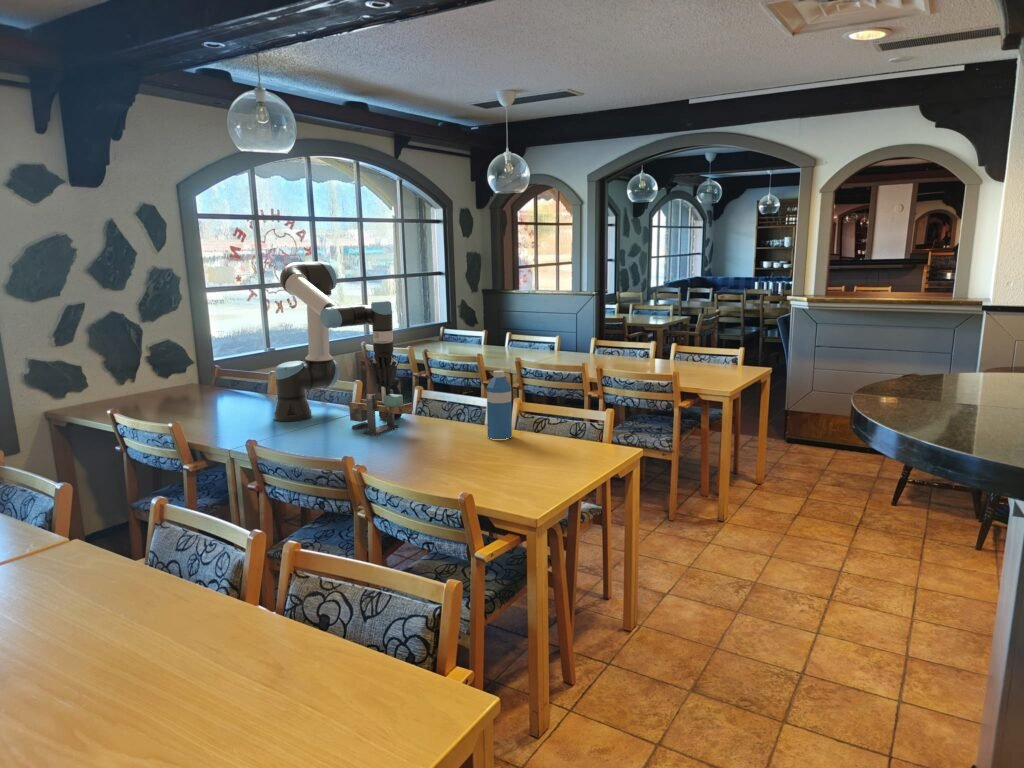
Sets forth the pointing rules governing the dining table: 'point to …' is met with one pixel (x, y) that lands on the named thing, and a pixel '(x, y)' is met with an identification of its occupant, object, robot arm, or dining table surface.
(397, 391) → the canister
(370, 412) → the pivot frame
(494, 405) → the water bottle
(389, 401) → the rider
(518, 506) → the dining table surface
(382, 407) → the beam
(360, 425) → the stop pad
